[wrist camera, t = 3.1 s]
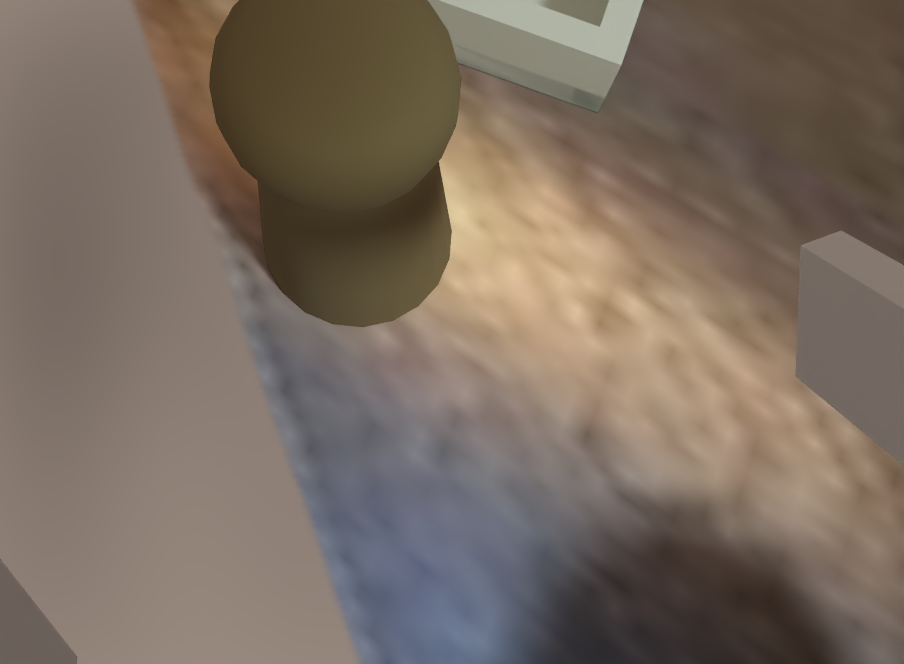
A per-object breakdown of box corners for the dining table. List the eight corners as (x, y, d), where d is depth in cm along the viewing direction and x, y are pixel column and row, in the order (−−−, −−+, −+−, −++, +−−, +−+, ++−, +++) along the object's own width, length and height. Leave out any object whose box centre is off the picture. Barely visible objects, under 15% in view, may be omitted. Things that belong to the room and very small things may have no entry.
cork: (225, 262, 26) (102, 81, 15) (331, 116, 27) (288, -146, 16) (386, 363, 25) (379, 250, 15) (486, 210, 27) (546, 4, 16)
